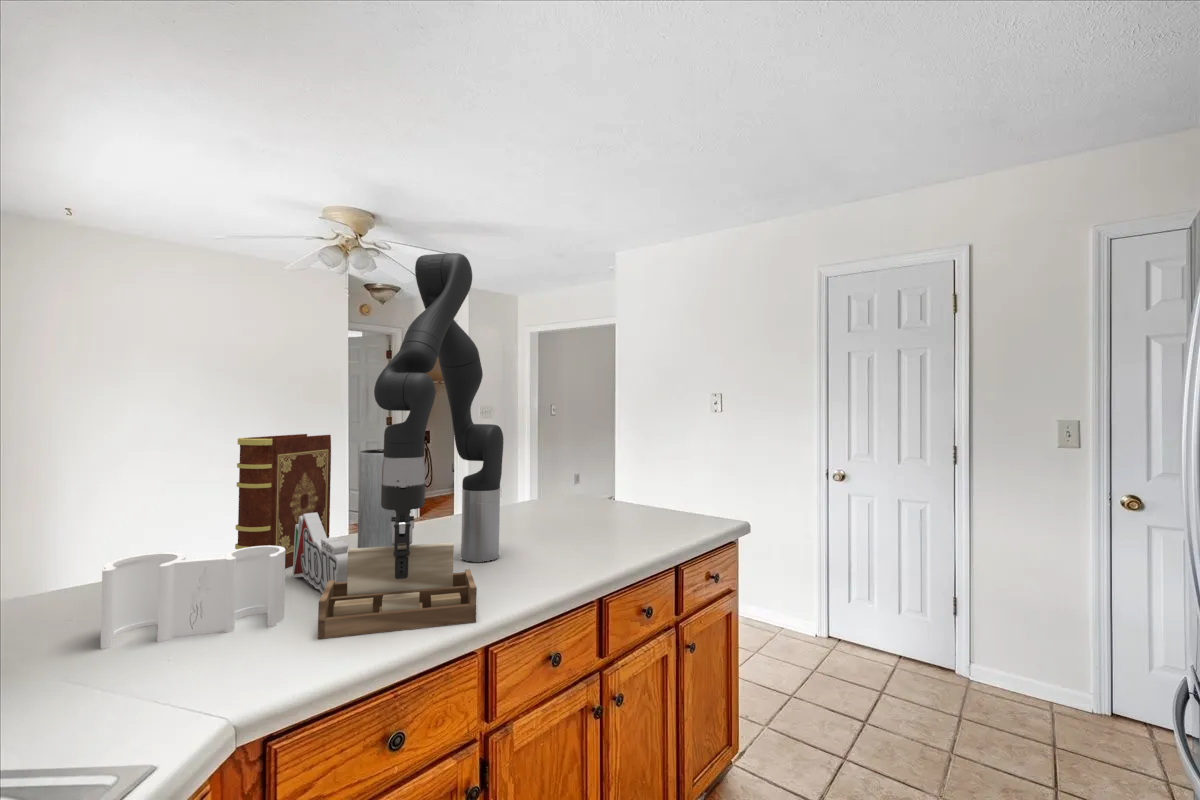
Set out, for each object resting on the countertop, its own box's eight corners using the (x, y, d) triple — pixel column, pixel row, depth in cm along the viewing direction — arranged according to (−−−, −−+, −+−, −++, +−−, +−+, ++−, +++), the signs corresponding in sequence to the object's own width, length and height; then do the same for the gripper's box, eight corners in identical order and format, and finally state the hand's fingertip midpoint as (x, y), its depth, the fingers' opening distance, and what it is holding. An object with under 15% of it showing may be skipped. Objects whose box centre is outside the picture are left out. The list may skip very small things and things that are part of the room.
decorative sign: (349, 611, 108) (354, 535, 107) (334, 615, 106) (339, 537, 105) (305, 574, 124) (309, 507, 123) (292, 576, 122) (296, 509, 121)
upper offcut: (383, 606, 97) (383, 594, 97) (419, 603, 99) (419, 592, 99) (381, 611, 95) (382, 600, 95) (419, 608, 96) (419, 596, 96)
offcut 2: (430, 617, 100) (430, 595, 100) (459, 614, 101) (459, 592, 101) (430, 623, 97) (431, 600, 97) (460, 620, 99) (460, 597, 99)
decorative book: (259, 578, 120) (262, 439, 120) (228, 575, 122) (231, 438, 122) (329, 552, 142) (332, 434, 142) (302, 549, 144) (305, 433, 144)
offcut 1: (335, 627, 95) (335, 601, 95) (373, 623, 97) (373, 597, 97) (332, 634, 92) (333, 606, 92) (372, 629, 94) (372, 603, 94)
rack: (328, 613, 101) (328, 580, 101) (469, 600, 109) (469, 569, 109) (317, 639, 90) (318, 601, 90) (475, 622, 98) (476, 587, 98)
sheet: (347, 615, 100) (349, 548, 100) (451, 605, 106) (452, 542, 106) (346, 620, 98) (347, 552, 98) (452, 610, 103) (453, 545, 104)
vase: (408, 569, 128) (410, 451, 128) (362, 576, 123) (364, 453, 123) (397, 559, 136) (399, 448, 137) (353, 565, 131) (355, 450, 131)
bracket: (287, 608, 103) (288, 543, 103) (280, 628, 94) (281, 556, 94) (117, 627, 93) (119, 554, 94) (91, 651, 84) (93, 571, 85)
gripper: (383, 477, 108) (381, 563, 107) (379, 487, 94) (377, 586, 94) (424, 476, 110) (422, 560, 110) (426, 486, 96) (424, 582, 96)
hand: (401, 572), depth 102 cm, fingers open, 7 cm apart
